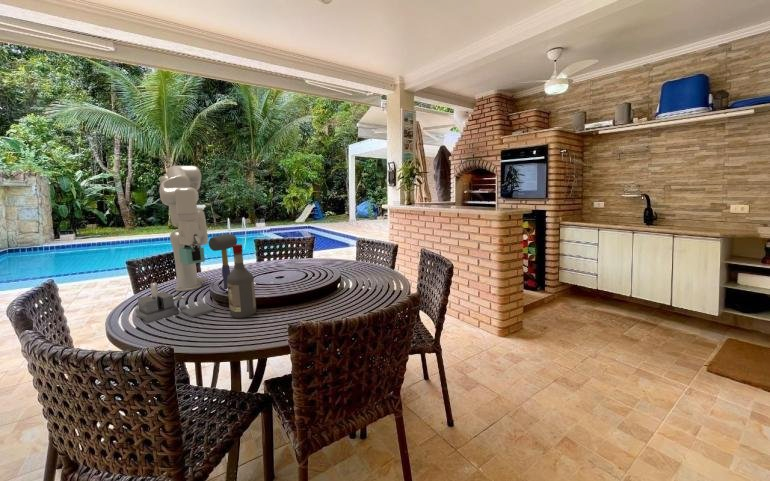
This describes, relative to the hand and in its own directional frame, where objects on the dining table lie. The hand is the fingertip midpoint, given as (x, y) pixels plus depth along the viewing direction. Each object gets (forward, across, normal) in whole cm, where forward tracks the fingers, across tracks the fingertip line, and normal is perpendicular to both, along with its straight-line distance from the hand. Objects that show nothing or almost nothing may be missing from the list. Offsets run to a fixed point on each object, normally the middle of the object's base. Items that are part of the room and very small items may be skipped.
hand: (192, 259), depth 151 cm
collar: (+1, 0, 0) cm, 1 cm away
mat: (+24, 0, 0) cm, 24 cm away
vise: (+24, -11, -10) cm, 28 cm away
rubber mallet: (+24, -15, +22) cm, 36 cm away
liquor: (+24, +19, +10) cm, 32 cm away
